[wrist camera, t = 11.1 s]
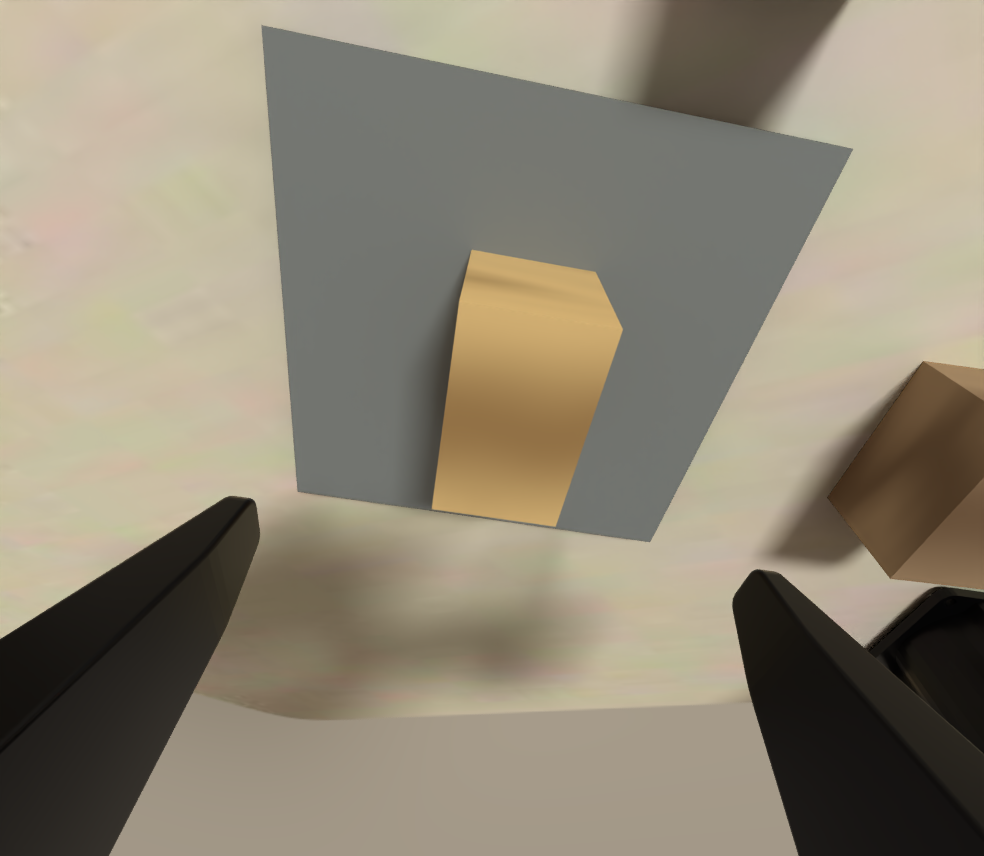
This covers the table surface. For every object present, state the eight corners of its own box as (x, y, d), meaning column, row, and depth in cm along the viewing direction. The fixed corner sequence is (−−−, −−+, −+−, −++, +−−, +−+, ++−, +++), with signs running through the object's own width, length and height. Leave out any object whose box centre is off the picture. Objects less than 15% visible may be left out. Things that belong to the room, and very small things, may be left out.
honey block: (546, 442, 17) (555, 526, 14) (447, 427, 17) (431, 509, 13) (595, 272, 14) (622, 329, 10) (471, 249, 13) (459, 301, 10)
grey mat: (645, 527, 20) (650, 542, 20) (305, 478, 19) (297, 491, 19) (834, 145, 12) (853, 149, 12) (276, 28, 11) (261, 25, 11)
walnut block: (910, 505, 19) (991, 590, 16) (825, 495, 19) (890, 578, 16) (1022, 373, 16) (1154, 446, 13) (920, 359, 16) (1028, 429, 13)
